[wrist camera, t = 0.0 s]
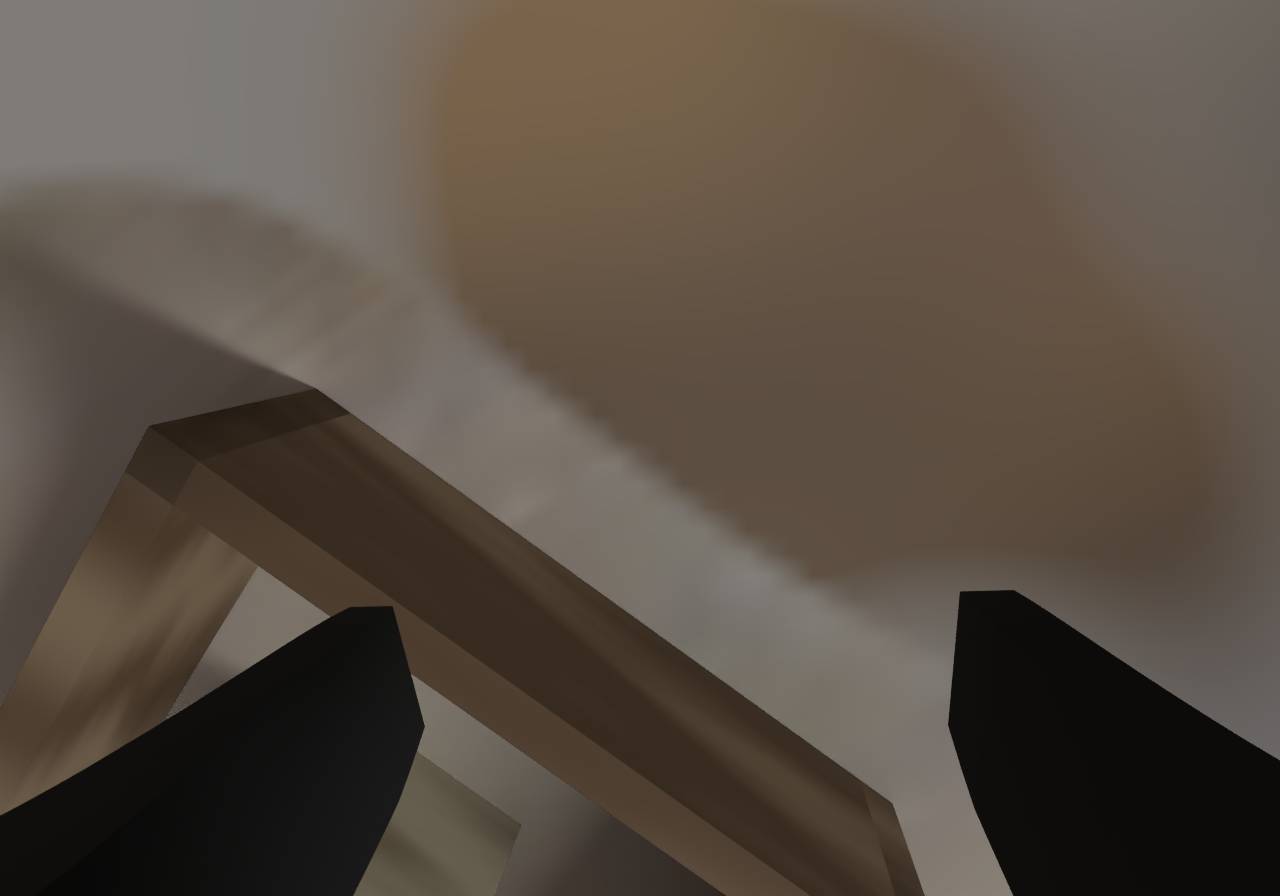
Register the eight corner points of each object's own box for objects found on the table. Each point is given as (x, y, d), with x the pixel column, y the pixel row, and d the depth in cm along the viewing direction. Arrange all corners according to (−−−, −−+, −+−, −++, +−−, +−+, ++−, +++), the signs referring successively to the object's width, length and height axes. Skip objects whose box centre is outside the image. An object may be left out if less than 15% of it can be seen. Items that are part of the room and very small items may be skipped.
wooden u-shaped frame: (575, 1115, 25) (531, 1370, 19) (85, 780, 24) (-120, 937, 18) (892, 803, 21) (961, 1003, 15) (316, 388, 20) (148, 426, 14)
